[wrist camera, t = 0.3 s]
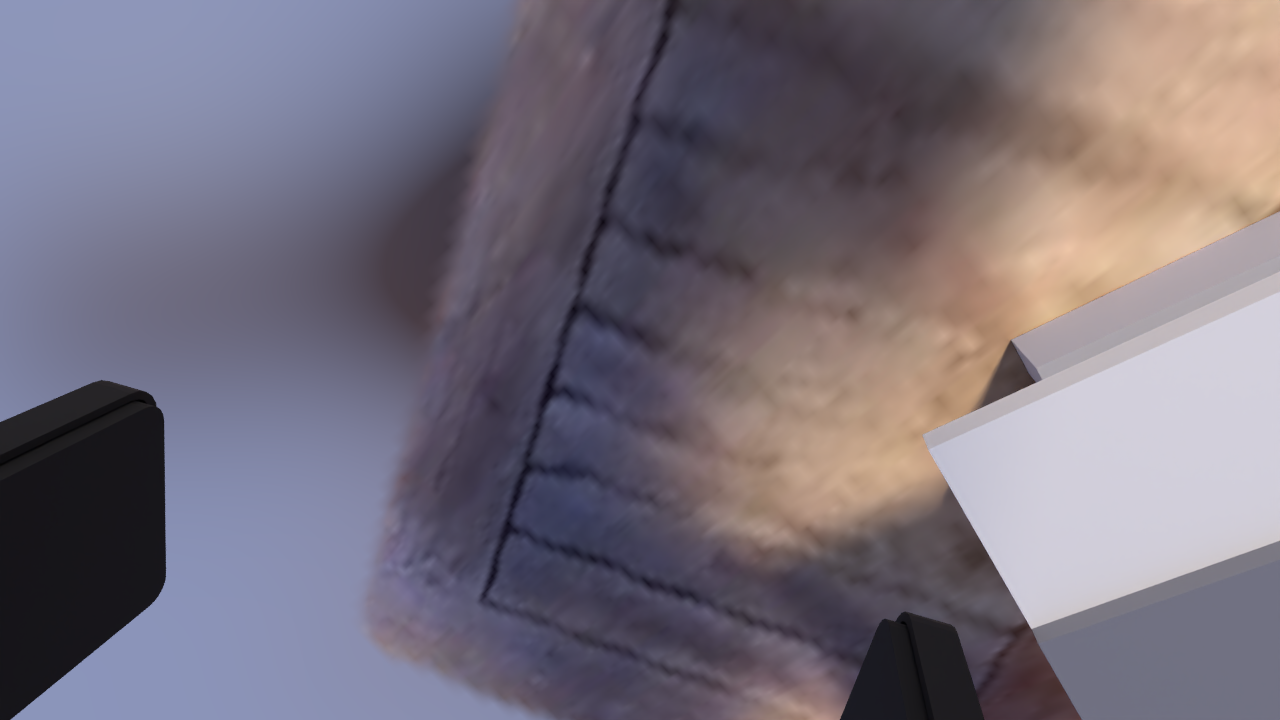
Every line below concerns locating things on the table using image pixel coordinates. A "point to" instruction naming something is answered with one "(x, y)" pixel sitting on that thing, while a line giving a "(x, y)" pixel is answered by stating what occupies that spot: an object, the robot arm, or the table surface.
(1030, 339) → the ledge cabinet
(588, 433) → the table surface
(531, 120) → the table surface
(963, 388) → the table surface
